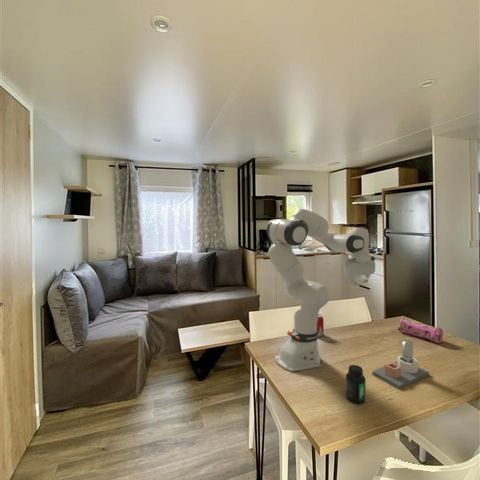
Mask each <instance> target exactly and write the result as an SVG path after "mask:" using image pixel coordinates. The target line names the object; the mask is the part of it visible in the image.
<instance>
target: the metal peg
mask: <svg viewBox="0 0 480 480" xmlns="http://www.w3.org/2000/svg"><path fill="white" fill-rule="evenodd" d="M401 343H402V344H401V345H402V347H401V349H402V351H401V352H402V353H401V356H402V361H404V362H406V363H413V358H414V342H413V341H412V340H411V341H410V340H407V339H405V340H402V342H401Z"/></svg>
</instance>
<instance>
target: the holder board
mask: <svg viewBox="0 0 480 480" xmlns="http://www.w3.org/2000/svg"><path fill="white" fill-rule="evenodd" d="M371 372H372V373H371V375H372V376H374V377H376V378H378V379H379V380H381V381H383V382H385V383H387V384H388V385H390V386H393V387H394V388H396V389H398V390H401V389H403V388H405V387H407V386H410V385H411V384H413V383H416V382H418V381H420V380H422V379H424V378H427V376H429V375H430V371H428V370H426V369H424V368H422V367H419V361H418V360H417V358H415V357H413V363H406V362H404V361H402V355H398V356H397V361H395V362H391V361H390V362H388V363H386V364H384V366H382V367H379V368H377V369H374V370H372V371H371Z"/></svg>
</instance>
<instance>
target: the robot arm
mask: <svg viewBox="0 0 480 480" xmlns="http://www.w3.org/2000/svg"><path fill="white" fill-rule="evenodd" d="M329 227H330V226H329V222H328V220H327V219H326V218H325V217H323V216H322V215H320V214H318V213H316V212H315V211H311V210H308V209H305V208H300V209H297V210H295V211H294V212H293V214H292V216H291V218H290V219H288V218H279V217H278V218H274V219H272V220H269V222H268V223H267V226H266V234H267V236H268V243H271V245H270V247H269V248H268V251H267V253H268V257H269V259H270V262H271V264H272V265H273V267H274V268H275V270H276V271H277V273H278V275H280V277H281V279H282V280H283V287H282V290H283V294H284V295H285V296H287V297H288V298H290V299H291V300H294V301H296V302H300V303H301V306H300V309H298V310H296V311H295V312H294V315H293V329H292V331H290V330H288V331H287V333H286V334H287V335H288V336H290V338H289V339H288V340H287V341H286V342H285V343H284V344H283V345H282V346H281V347H280V350H279V354H278V355H277V356H274V361H275V362H276V363H277V364H278V366H279V367H281V368H282V369H284V370H286V371H289V372H296V371H297V372H299V371H303V370H308V369H314V368H318V367H321V363H320V362H321V356H320V351H319V346H318V345H319V344H318V339H319V337H318V331H317V317H318V314H320V313H319V312H320V311H321V309H322V308H323V307H324V306H326V305H327V304H328V302H330V301H329V300H330V297H331V296H330V295H331V294H330V290H329V288H328V287H327V286H325V285H324V284H321V283H319V282H316V281H311V280H308V279H306V278H304V275H305V267H303V265H302V263H301V262H300V259H299V258H298V257H297V255H296V254H295V252H294V250H293V247H295V246H300V245H302V244H303V243H304V242H305V241H306V239H307V238H308V237H309V238H312V239H314V240H315V241H317V242H319V243H321V244H322V245H324V246H325V248H326V249H327V251H330V252H331V253H345V254H350V258H348V259H347V260H346V261H345V264H344V269H343V271H344V272H343V275H344V277H346V278H349V280H350V282H351V283H350V284H351V285H352V286H355V285H357V281H355V279H356V277H361V276H364V279H363V280H362V281H363V283H364V284H367V283H369V278H370V276H371V275H374V274H375V272H376V262H375V261H376V258H377V257H376V256H374V255H372V254H370V250H369V245H370V235H369V230H368V229H367V228H365V227H359V226H358V227H357V226H356V227H352V230H351V231H349V232H348V233H329ZM292 246H293V247H292Z"/></svg>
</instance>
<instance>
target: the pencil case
mask: <svg viewBox="0 0 480 480" xmlns="http://www.w3.org/2000/svg"><path fill="white" fill-rule="evenodd" d="M397 330H398V331H400V333H404V334H406V335H411V336H413V337H414V336H415V337H418V338H423V339H426V340H428V341H431V342H434V343H436V344H440V343H442V342H443V341H442V340H443V335H444V331H443V329H442V328H441V327H438V326H437V327H436V326H430V325H426V324H424V323H423V324H422V323H418V322H412V321H410V320H408V319H406V318H404V317H401V319H400V321H399V326H398V329H397Z"/></svg>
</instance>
